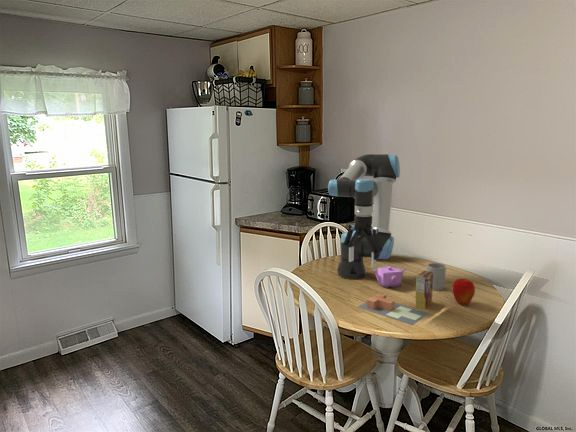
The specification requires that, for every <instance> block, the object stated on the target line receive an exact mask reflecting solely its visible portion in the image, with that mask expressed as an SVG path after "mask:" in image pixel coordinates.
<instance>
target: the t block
mask: <svg viewBox="0 0 576 432" xmlns="http://www.w3.org/2000/svg"><path fill="white" fill-rule="evenodd" d="M366 302H367V308H370V309H373V310H374V309H376V308H377V307H378V308H382V309H385V310H388V311H391V310H393V309H394V305H395V303H396V302H395V300H394V299H393V300H392V299H389V298H387V294H383V293H377V294H375V295H374V296H371V297H369V298H367V299H366Z"/></svg>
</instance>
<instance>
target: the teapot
mask: <svg viewBox="0 0 576 432" xmlns="http://www.w3.org/2000/svg"><path fill="white" fill-rule="evenodd" d="M406 270H408V268H407V267H404V268H402V269H401V270H400V269H399V268H398V267H397V266H389V265H388V266H384V267H377V270H376V269H371V271H373V272H374V274H375V277H376V279H377V280H376V281H377V283H378V284H379V285H380V287H382V288H384V289H389V287H392V288H393V289H397V288H398V287H401V286H402V278H403V275H404V272H405V271H406Z"/></svg>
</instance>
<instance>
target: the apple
mask: <svg viewBox="0 0 576 432" xmlns="http://www.w3.org/2000/svg"><path fill="white" fill-rule="evenodd" d="M475 291H476V287H475V285H474V283H473V282H472V281H471V280H470V279H467V278H458V279H456V280H454V282H453V284H452V294H453V297H454V300H455V301H456V302H457V303H458V304H459V305H461V306H464V305H465V306H466V305H468V304H469V303H470V302H471V301H472V299H473V298H474V296H475Z"/></svg>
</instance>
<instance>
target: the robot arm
mask: <svg viewBox="0 0 576 432" xmlns="http://www.w3.org/2000/svg"><path fill="white" fill-rule="evenodd" d="M399 159H400V158H399V156H398V155H397V154H390V153H388V154H384V153H383V154H380V153H378V154H376V153H375V154H372V153H370V154H369V153H367V154H362V155H360V156H358V157H356V158H354V159H353V160H352V161H351V162H350V163H349V165H348V168H347V169H346V170H345V171H344V173H342V175H341V176H340V177H339V178H337V179H336V178H335V179H330V180H329V181H328V185H327V191H328V194H329V196H332V197H347V198H354V224H349V225H348V230H347V231H345V232H343V233H342V234H341V237H340V261H339V263H338V267H337V270H336V271H337V273H336V275H337V274H338V275H339V276H338V275H337V276H338V277H340V276H341V277H340V278H342V277H344V279H347V278H348V280H357V279H358V280H359V279H362V278H365V277H366V276H367V271H366V267H365V264H364V258H368V257H369V258H372V260H371V259H370V260H371V266H370V267H371V268H375V267H377V260H379V259H380V260H387V259H388V260H389V258H390V257H391V255H392V252H393V248H394V243H395V238H394V236H392V232H391V231H390V228H389V227H390V220H391V219H390V217H391V208H392V207H391V205H392V194H393V185H394V183H395V182H396V181H397V179H398V178H400V176H401V175H400V174H401V167H400V166H401V165H400V161H399ZM363 177H373V179H371V178H363ZM373 199H374V200H373ZM372 211H373V219H372ZM371 225H372V226H371Z"/></svg>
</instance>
